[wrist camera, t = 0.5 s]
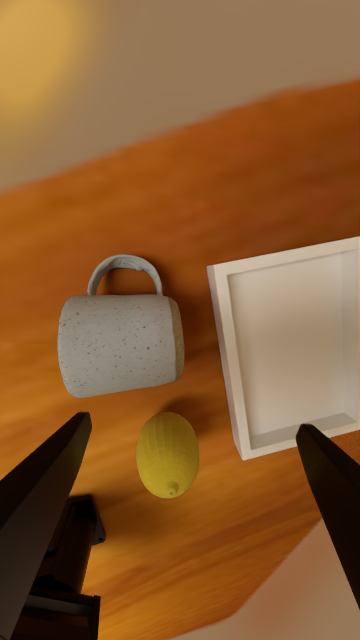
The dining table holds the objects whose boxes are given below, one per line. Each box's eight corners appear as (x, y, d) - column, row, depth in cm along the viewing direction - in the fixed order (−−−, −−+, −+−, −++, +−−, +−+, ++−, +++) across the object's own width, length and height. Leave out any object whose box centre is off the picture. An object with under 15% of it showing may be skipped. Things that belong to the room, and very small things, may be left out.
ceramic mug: (178, 361, 22) (190, 405, 14) (95, 370, 21) (62, 421, 14) (170, 254, 20) (179, 238, 12) (78, 259, 19) (28, 246, 11)
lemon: (129, 429, 23) (117, 510, 15) (156, 387, 22) (157, 449, 14) (174, 449, 24) (183, 533, 16) (200, 409, 23) (223, 477, 15)
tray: (346, 413, 26) (366, 427, 23) (234, 442, 25) (242, 460, 22) (343, 239, 21) (367, 234, 19) (206, 266, 20) (213, 265, 18)
